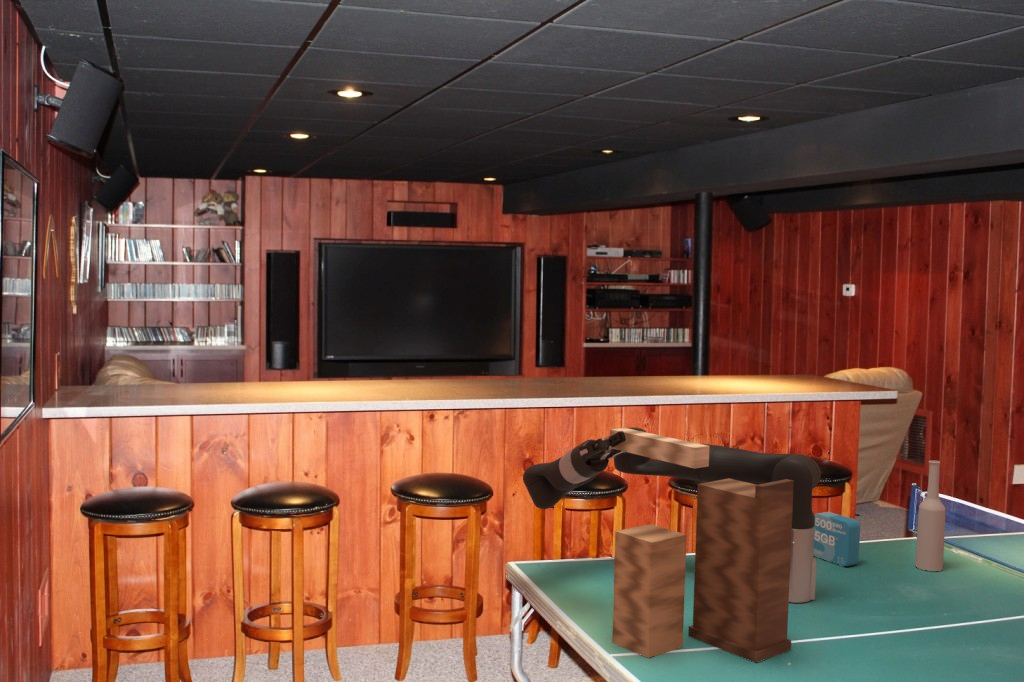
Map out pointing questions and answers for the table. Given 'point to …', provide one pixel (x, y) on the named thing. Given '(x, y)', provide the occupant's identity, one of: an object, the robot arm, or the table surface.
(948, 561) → the table surface
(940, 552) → the bottle
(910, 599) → the table surface
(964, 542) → the table surface
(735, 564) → the tall walnut stand
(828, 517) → the data package
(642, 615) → the light wooden pillar block
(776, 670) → the table surface
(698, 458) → the brown wooden block
